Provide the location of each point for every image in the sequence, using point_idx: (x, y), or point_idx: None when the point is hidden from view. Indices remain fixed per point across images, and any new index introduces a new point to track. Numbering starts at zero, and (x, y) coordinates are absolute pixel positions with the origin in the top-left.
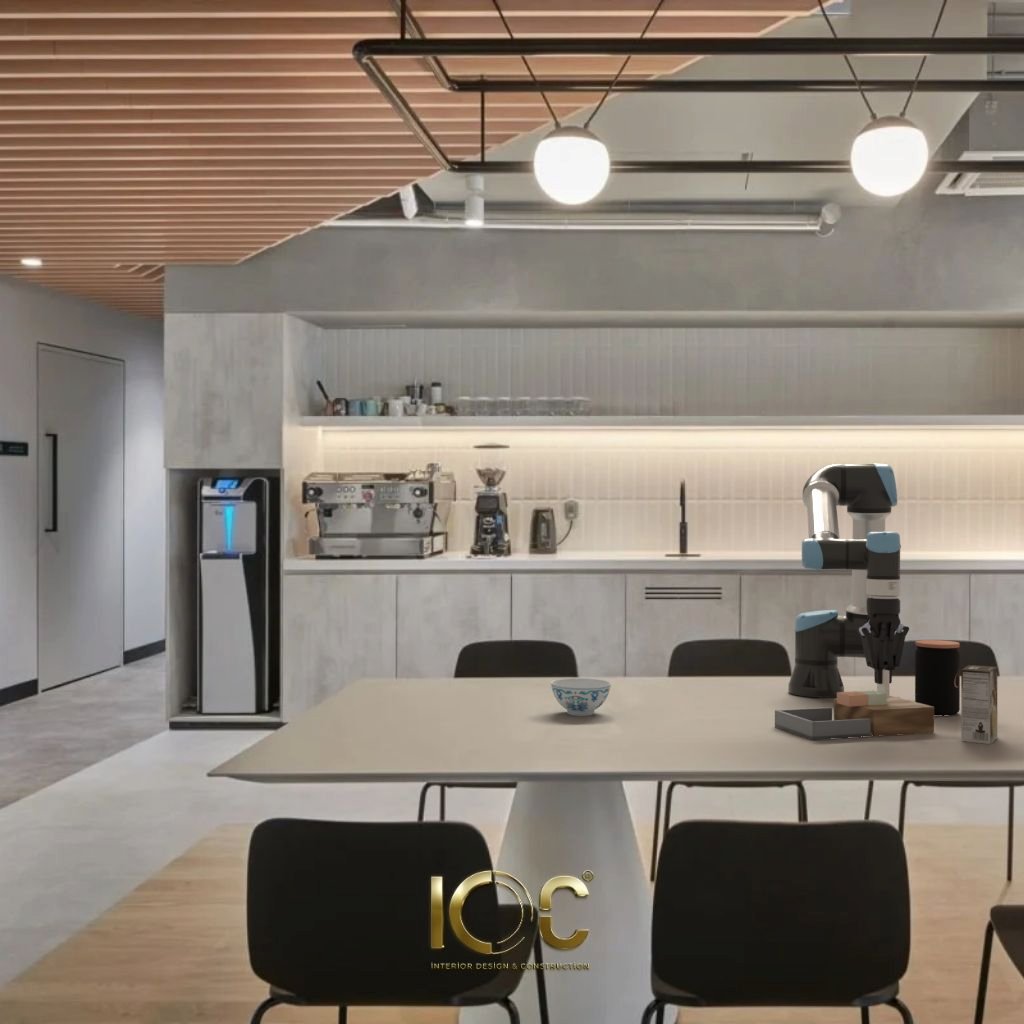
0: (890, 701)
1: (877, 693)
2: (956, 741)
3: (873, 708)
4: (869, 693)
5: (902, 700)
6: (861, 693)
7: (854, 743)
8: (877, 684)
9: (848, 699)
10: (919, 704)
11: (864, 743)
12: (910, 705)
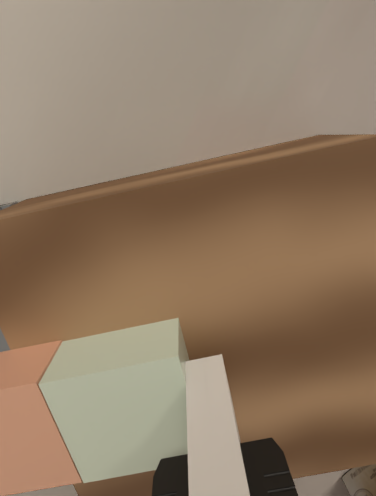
0: (266, 332)
1: (154, 451)
2: (326, 476)
3: (96, 488)
4: (104, 451)
5: (353, 304)
6: (53, 454)
7: (19, 493)
8: (187, 429)
9: None
10: (365, 411)
11: (49, 493)
12: (305, 431)
